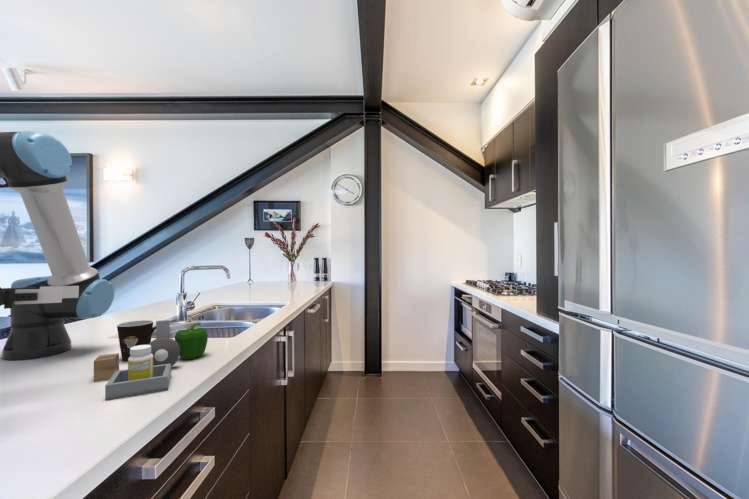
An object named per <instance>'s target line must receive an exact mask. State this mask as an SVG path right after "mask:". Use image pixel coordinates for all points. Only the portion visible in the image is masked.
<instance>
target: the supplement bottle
mask: <svg viewBox="0 0 749 499" xmlns="http://www.w3.org/2000/svg"><path fill="white" fill-rule="evenodd" d="M150 352H151V345H138V346H134V347H131V348H130V355H131V356H130V357H129V358H128V362H127V369H128V381H130V380H137V379H144V378H151V377H153V354H152V353H150Z"/></svg>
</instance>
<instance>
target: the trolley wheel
mask: <svg viewBox="0 0 749 499" xmlns="http://www.w3.org/2000/svg"><path fill="white" fill-rule="evenodd" d="M170 320H171V319H164V320H163V319H162V320H156V323H155V327H156V329H155V332H156V333H155V334H156V335H155V339H154V340H151V342H150V343H149V344H148V345H151V352H150V353H152V354H153V366H155V365H163V364H170V363H171V368H172V367H174V365H175V364H176V363H178V359H179V358H180V356H179V353H180V348H179V345H178V343H177V342H176V341H175V339H173V338H171V337H170V336H171V334H170V333H171V332H170V331H171V329H170V326H171V325H170V324H171V322H170Z"/></svg>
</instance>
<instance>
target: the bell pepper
mask: <svg viewBox="0 0 749 499" xmlns="http://www.w3.org/2000/svg"><path fill="white" fill-rule="evenodd" d="M201 324H202V321H201V322H200V321H196V322H195V321H194V322H193V323H192V324H191V325H190V327H189V328H186V329H179V330H178V331H176V333H175V335H174V340H175V341H176V342H177V343H178V345H179V348H180V353H179V358H180V359H181V360H192V359H195V358H199V357H202V356H203V355H204V353H205V352H206V349H207V345H208V338H209V337H208V332H207V330H206V328H205V327H198V328H197V327H196V326H201ZM195 327H196V328H195Z"/></svg>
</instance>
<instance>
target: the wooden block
mask: <svg viewBox="0 0 749 499" xmlns="http://www.w3.org/2000/svg"><path fill="white" fill-rule="evenodd" d="M118 370H120V353H118V352H116V353H109V354H100V355H98V356H97V357H96V358H95V359H94V360H93V382H94V383H96V382H97V383H98V382H103V381H109V380H110V379H111V377H112V376H113V374H114V373H115V372H116V371H118Z"/></svg>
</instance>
